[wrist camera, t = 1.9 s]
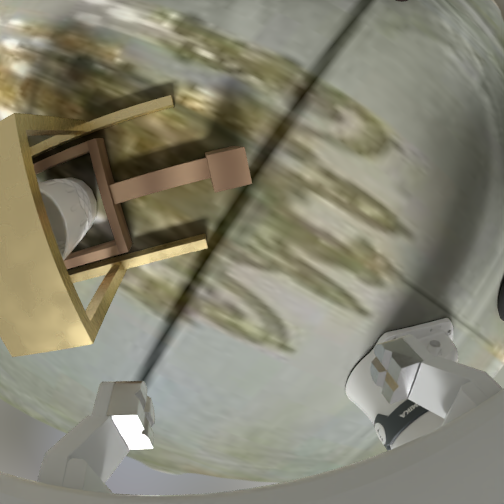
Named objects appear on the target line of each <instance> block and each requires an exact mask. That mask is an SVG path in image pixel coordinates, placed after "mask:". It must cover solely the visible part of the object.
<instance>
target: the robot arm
mask: <svg viewBox="0 0 504 504" xmlns="http://www.w3.org/2000/svg"><path fill="white" fill-rule="evenodd" d="M346 394H347V397H348V398H349V399H350V400H351V401H352V402H353V403H355V404H356V405H357V406H358V407H359V408H360V409H361V410H362V411H363V412H364V413H365V414H366V415H367V417H368V418H369V419H370V420H371V421H372V423H373V424H374V428H375V431H376V433H377V435H378V437H379V439H380V440H381V442H382V444H384V446H385V447H386V449H387V450H388V451H386V452H383V453H381V454H378V455H376V456H373V457H370V458H367V459H365V460H362V461H359V462H356V463H353V464H350V465H347V466H344V467H341V468H337V469H334V470H331V471H327V472H324V473H320V474H316V475H312V476H309V477H305V478H300V479H296V480H292V481H287V482H283V483H278V484H273V485H267V486H261V487H255V488H249V489H242V490H235V491H226V492H217V493H205V494H189V495H129V494H114V493H112V491H111V490H110V489H109V488H108V487H107V486H106V485H105V483H106V482H107V480H108V479H109V478H110V476H111V475H112V474H113V472H114V471H115V470H116V468H117V467H118V465H119V464H120V463H121V462H122V460H123V459H124V457H125V456H126V455H127V453H128V452H129V451H130V450H129V449H153V442H154V432H153V430H152V428H151V427H152V426H153V425H154V423H155V414H154V407H153V403H152V400H151V398H150V397H148V396H147V387H146V384H145V382H143V381H116V382H102V383H101V384H100V386H99V389H98V393H97V396H96V400H95V404H94V407H93V411H92V415H91V416H87V417H85V418H84V419H83V420H82V421H81V422H80V423H79V424H78V425H76V426H75V427H74V428H73V429H72V430H71V431H70V432H68V433H67V434H66V435H65V436H64V437H63V438H62V439H61V440H59V441H58V442H57V443H56V444H55V445H54V446H53V447H51V448H50V449H49V450H48V451H47V452H46V453H45V455H44V458H43V462H42V465H41V469H40V473H39V476H38V480H37V482H36V481H32V480H28V479H24V478H20V477H17V476H13V475H9V474H6V473H3V472H0V504H504V389H503V388H501V386H500V385H499V384H498V383H497V382H496V381H495V380H494V379H493V378H491V377H490V376H489V375H488V374H487V373H486V372H485V371H481V370H478V369H475V368H472V367H469V366H466V365H463V364H460V363H458V351H457V348H456V346H455V344H454V343H453V325H452V323H451V321H450V320H449V319H448V318H444V319H440V320H436V321H432V322H428V323H424V324H420V325H416V326H412V327H408V328H404V329H399V330H395V331H390V332H387V333H385V334H383V335H382V336H381V337H380V339H379V340H378V342H377V343H376V345H375V347H374V348H373V350H372V351H371V352H370V353H369V354H368V355H367V356H365V357H364V358H363V359H362V360H361V361H360V362H359V363H358V365H357V366H356V367H355V368H354V370H353V371H352V373H351V374H350V376H349V378H348V381H347V384H346Z"/></svg>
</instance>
